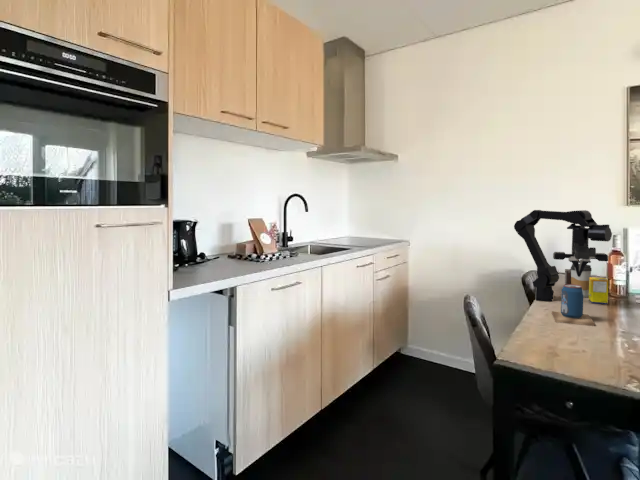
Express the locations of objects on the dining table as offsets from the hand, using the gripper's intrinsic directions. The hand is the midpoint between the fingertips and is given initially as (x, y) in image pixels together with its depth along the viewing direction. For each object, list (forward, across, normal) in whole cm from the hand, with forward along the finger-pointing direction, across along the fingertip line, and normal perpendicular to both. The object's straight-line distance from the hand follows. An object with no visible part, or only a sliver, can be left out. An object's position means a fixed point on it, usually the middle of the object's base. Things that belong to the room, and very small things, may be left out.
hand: (578, 276), depth 159 cm
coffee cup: (+13, +4, +22) cm, 26 cm away
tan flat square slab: (+13, -5, -23) cm, 27 cm away
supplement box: (+13, +9, +11) cm, 19 cm away
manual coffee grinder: (+13, +6, +45) cm, 47 cm away
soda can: (+12, -5, -23) cm, 26 cm away
